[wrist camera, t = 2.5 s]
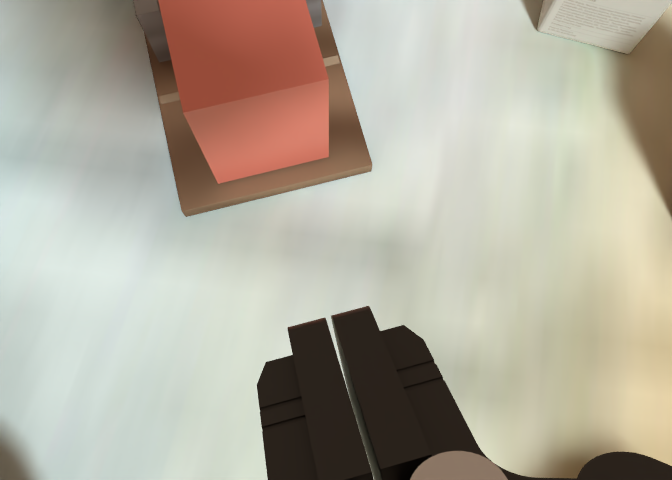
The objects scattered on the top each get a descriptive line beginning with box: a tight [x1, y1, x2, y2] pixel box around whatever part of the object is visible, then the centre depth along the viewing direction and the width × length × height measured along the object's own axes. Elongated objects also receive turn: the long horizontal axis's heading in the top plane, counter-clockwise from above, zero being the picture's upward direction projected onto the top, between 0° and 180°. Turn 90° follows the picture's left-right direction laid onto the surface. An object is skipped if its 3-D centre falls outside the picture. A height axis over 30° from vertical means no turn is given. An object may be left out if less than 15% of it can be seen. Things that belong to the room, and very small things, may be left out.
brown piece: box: [133, 0, 372, 217], centre depth 35 cm, size 18×11×6 cm, turn 15°
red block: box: [158, 0, 329, 184], centre depth 31 cm, size 6×6×8 cm
